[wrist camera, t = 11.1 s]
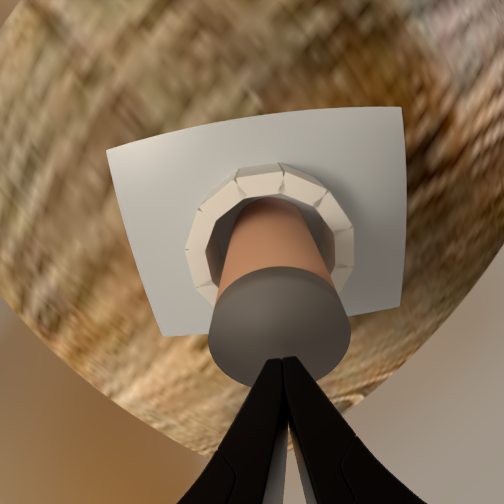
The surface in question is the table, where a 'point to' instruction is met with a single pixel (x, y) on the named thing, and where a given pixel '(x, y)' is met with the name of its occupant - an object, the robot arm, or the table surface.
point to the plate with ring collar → (259, 186)
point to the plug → (275, 297)
